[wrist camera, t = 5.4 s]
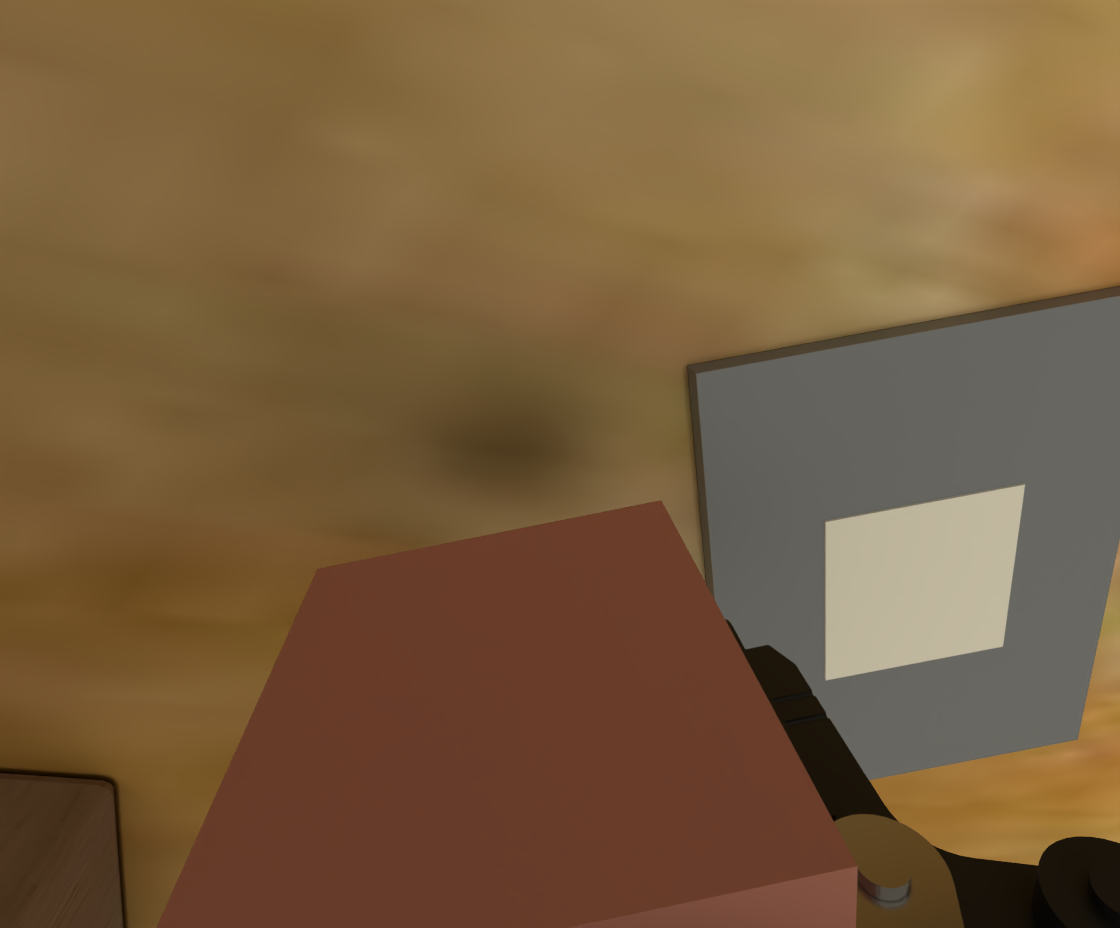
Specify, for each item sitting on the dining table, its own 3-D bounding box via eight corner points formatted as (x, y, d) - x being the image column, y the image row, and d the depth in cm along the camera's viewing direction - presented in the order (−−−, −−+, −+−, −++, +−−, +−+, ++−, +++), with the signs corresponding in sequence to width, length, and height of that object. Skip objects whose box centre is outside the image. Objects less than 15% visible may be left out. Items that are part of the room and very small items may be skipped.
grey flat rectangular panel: (687, 365, 21) (696, 374, 20) (1142, 281, 21) (1175, 286, 20) (724, 786, 28) (732, 808, 27) (1058, 721, 28) (1079, 741, 27)
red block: (317, 568, 10) (114, 1023, 5) (661, 500, 10) (858, 867, 5) (410, 808, 12) (345, 1306, 7) (691, 749, 12) (848, 1193, 7)
